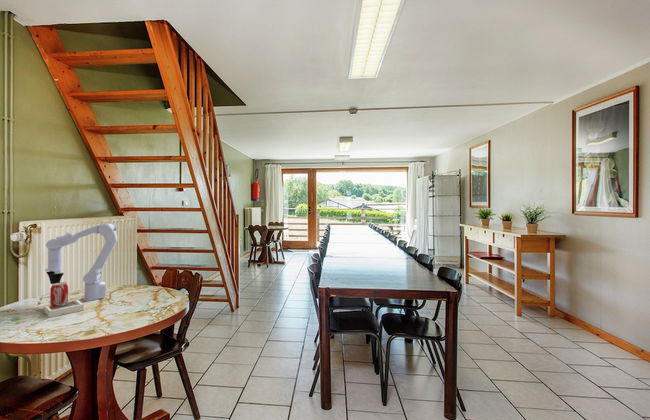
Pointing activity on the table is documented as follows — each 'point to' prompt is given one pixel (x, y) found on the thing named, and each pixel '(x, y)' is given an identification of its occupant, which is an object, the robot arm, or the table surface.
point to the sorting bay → (64, 309)
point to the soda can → (59, 295)
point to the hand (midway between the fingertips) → (54, 284)
